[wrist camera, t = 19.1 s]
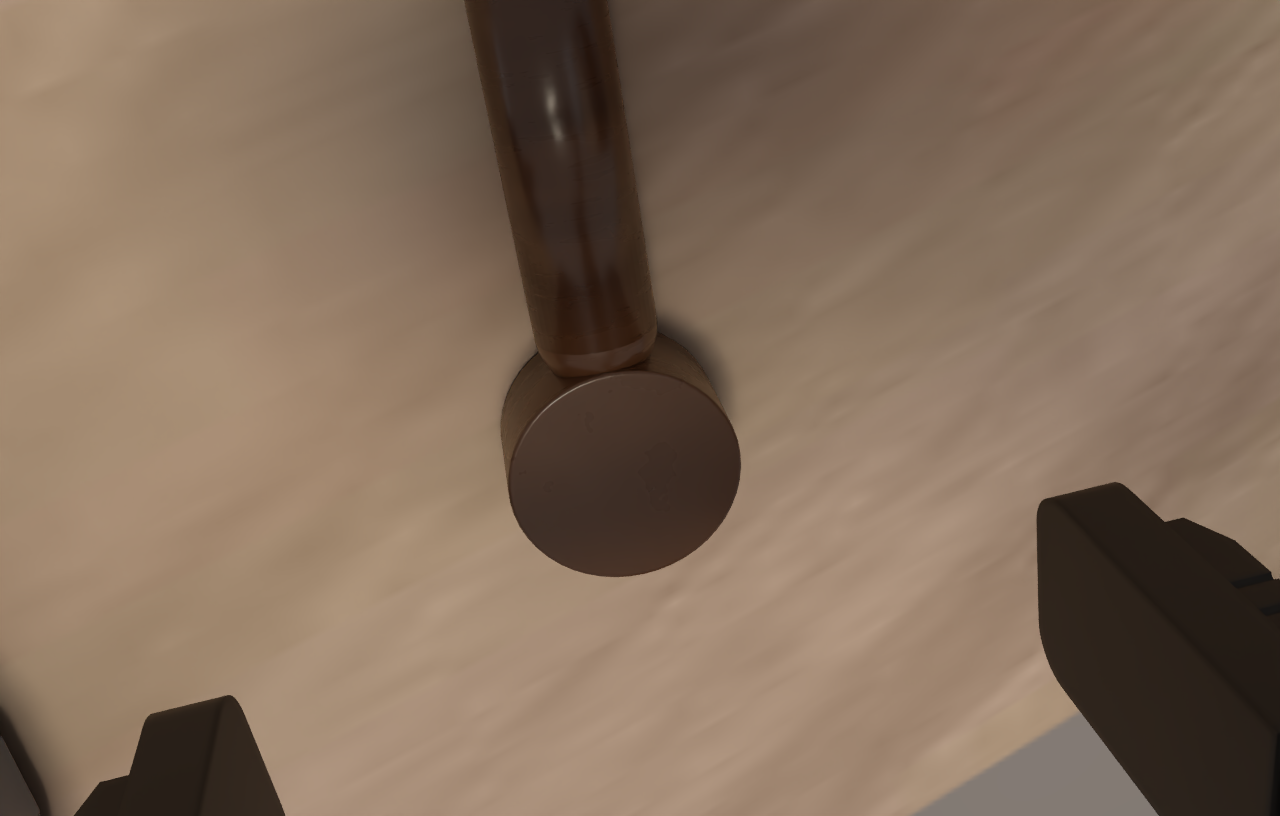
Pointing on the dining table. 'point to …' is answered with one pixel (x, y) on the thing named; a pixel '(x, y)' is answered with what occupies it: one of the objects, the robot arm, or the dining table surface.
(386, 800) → the dining table surface
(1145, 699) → the robot arm
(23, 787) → the bowl
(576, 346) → the rod with round cap
